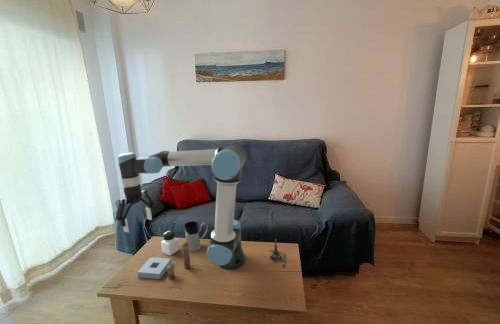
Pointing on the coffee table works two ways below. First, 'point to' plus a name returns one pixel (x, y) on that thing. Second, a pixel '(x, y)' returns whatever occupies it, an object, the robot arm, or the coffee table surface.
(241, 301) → the coffee table surface
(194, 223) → the grey black mug
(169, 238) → the medicine bottle
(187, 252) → the long pin
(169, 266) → the short pin
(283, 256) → the grey-green irregular piece
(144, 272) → the collar plate
